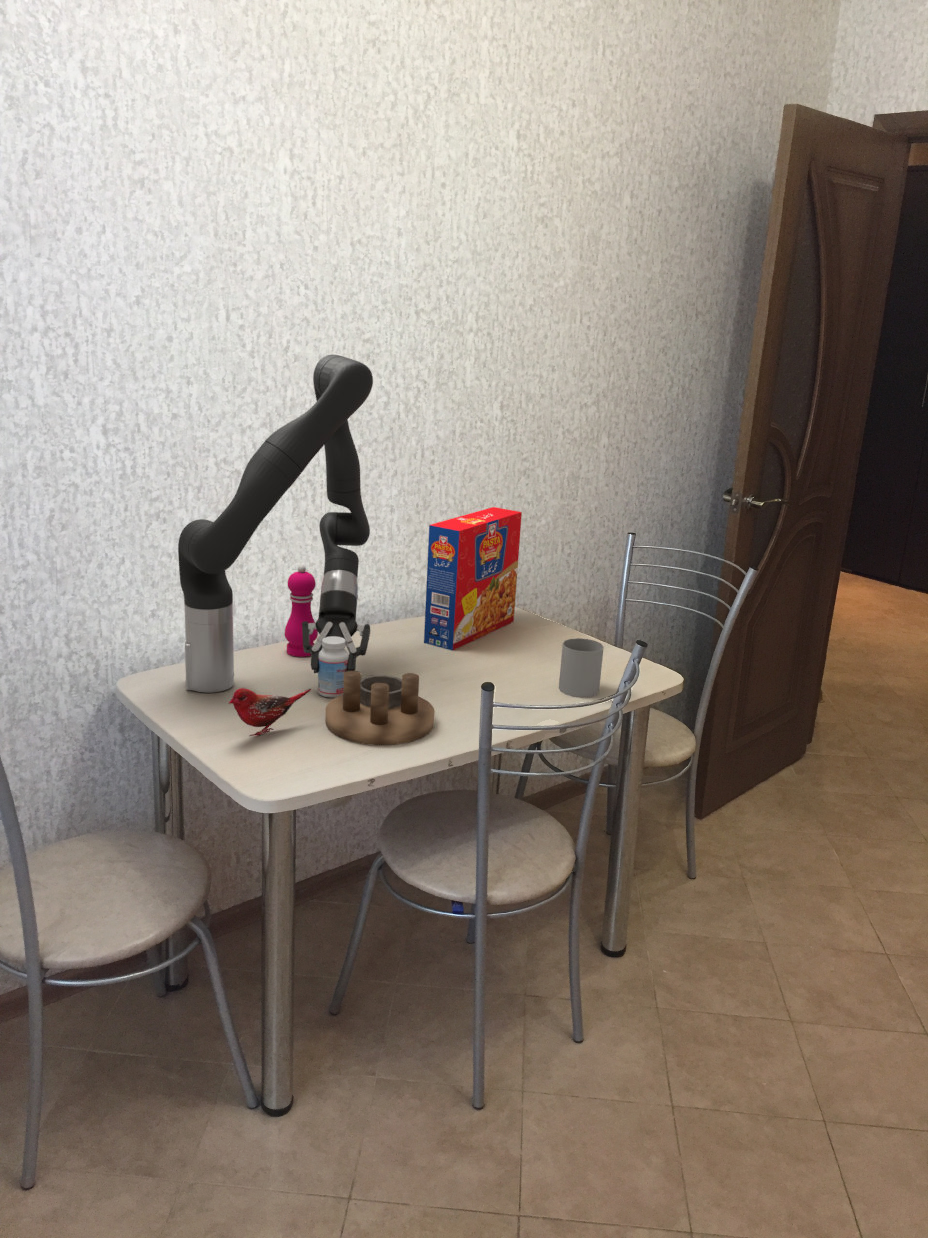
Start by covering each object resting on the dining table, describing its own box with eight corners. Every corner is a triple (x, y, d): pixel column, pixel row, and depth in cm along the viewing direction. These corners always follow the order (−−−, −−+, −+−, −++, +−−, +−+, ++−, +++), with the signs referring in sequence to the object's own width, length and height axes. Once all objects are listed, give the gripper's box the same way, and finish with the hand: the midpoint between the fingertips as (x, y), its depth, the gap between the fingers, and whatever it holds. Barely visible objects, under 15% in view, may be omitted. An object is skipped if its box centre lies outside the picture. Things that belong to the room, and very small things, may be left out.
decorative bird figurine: (224, 741, 180) (223, 689, 177) (306, 717, 192) (307, 667, 189) (233, 747, 178) (232, 694, 175) (315, 722, 190) (316, 672, 187)
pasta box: (452, 650, 232) (459, 530, 223) (423, 643, 236) (429, 524, 227) (513, 621, 255) (521, 512, 246) (486, 615, 259) (493, 506, 250)
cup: (576, 679, 219) (580, 635, 216) (606, 691, 213) (611, 646, 210) (550, 688, 213) (554, 643, 210) (581, 700, 208) (585, 654, 204)
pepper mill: (324, 651, 227) (325, 564, 220) (302, 660, 221) (303, 571, 214) (299, 644, 230) (300, 558, 224) (277, 652, 224) (277, 564, 218)
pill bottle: (342, 700, 201) (344, 646, 197) (313, 696, 202) (314, 643, 198) (352, 689, 206) (353, 637, 203) (323, 685, 208) (324, 633, 204)
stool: (330, 747, 180) (330, 697, 177) (321, 702, 199) (322, 657, 196) (443, 743, 185) (445, 694, 182) (424, 699, 204) (426, 654, 201)
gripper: (302, 587, 205) (294, 663, 197) (373, 590, 206) (369, 666, 198) (305, 604, 212) (297, 678, 204) (374, 607, 212) (369, 681, 205)
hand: (332, 672), depth 201 cm, fingers closed on pill bottle, 6 cm apart
